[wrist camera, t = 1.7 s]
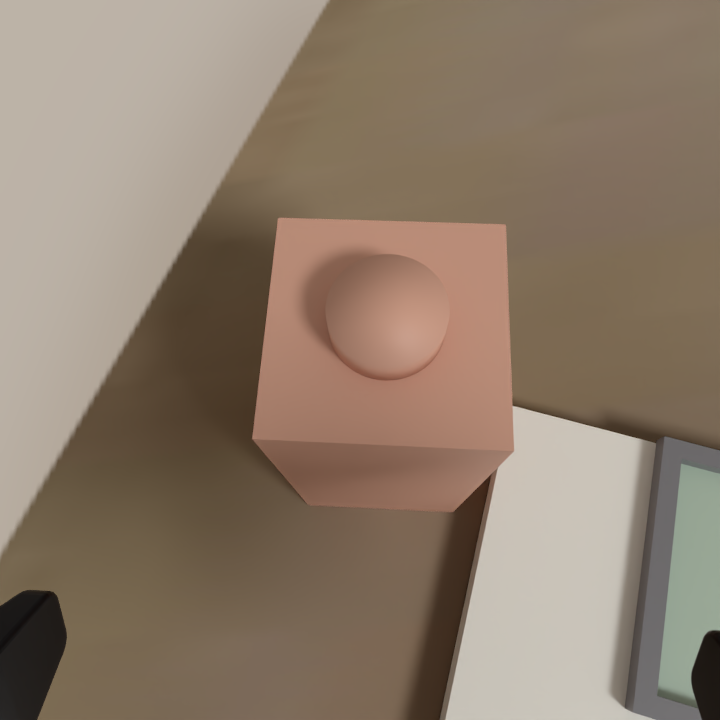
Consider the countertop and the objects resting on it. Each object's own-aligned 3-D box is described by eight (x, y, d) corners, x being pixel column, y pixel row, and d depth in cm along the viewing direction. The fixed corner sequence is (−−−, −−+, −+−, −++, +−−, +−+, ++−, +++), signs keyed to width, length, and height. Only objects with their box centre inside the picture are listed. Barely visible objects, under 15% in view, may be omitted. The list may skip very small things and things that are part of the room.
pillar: (453, 512, 21) (523, 441, 11) (308, 504, 21) (243, 428, 11) (452, 375, 23) (513, 202, 12) (319, 369, 23) (272, 195, 13)
